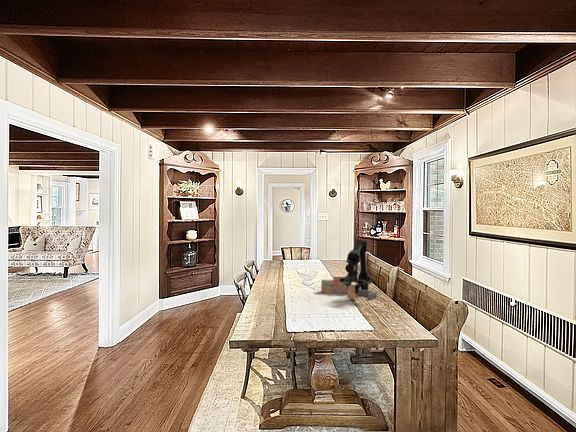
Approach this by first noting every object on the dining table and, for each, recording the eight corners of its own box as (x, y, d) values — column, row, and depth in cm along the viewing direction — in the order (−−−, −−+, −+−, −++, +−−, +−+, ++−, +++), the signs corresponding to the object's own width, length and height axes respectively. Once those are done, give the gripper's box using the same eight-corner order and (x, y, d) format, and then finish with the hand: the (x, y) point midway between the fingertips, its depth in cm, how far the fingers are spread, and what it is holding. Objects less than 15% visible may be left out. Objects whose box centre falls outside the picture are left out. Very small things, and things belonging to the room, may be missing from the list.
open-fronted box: (355, 294, 332) (355, 288, 331) (376, 297, 321) (376, 291, 321) (347, 296, 323) (347, 290, 323) (368, 299, 312) (368, 294, 312)
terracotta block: (351, 296, 316) (351, 284, 316) (357, 297, 313) (358, 285, 312) (347, 297, 312) (347, 285, 312) (353, 298, 309) (354, 286, 309)
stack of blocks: (321, 292, 336) (321, 276, 336) (321, 291, 342) (321, 274, 342) (350, 293, 335) (350, 276, 334) (349, 292, 341) (350, 275, 341)
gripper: (335, 270, 312) (334, 293, 312) (359, 273, 300) (358, 297, 300) (344, 269, 320) (343, 291, 321) (367, 271, 308) (367, 294, 309)
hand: (352, 293), depth 312 cm, fingers closed on terracotta block, 5 cm apart
